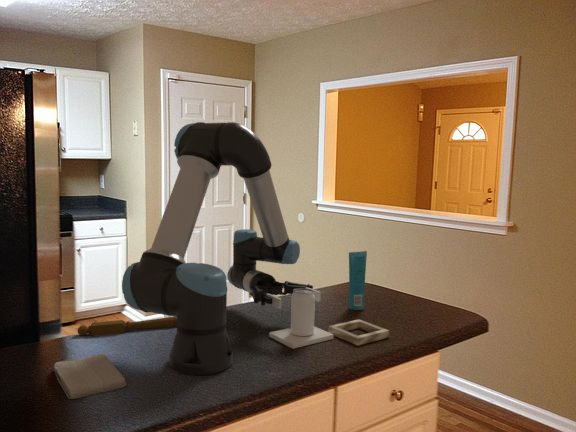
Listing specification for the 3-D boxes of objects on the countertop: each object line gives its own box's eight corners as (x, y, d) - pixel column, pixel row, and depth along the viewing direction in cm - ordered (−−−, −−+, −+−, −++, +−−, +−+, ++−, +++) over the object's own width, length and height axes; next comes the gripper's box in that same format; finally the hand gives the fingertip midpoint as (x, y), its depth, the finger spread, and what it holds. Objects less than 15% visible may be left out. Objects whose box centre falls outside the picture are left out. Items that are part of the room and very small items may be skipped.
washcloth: (103, 361, 125) (103, 349, 125) (128, 389, 111) (128, 375, 111) (50, 372, 118) (50, 359, 118) (70, 403, 104) (69, 388, 104)
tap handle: (188, 316, 151) (77, 327, 140) (188, 327, 152) (77, 338, 140) (186, 314, 154) (77, 324, 142) (186, 324, 154) (77, 334, 143)
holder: (357, 345, 139) (357, 338, 138) (328, 332, 148) (328, 326, 148) (388, 337, 146) (389, 330, 145) (358, 325, 155) (359, 319, 155)
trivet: (292, 348, 135) (292, 344, 135) (269, 336, 144) (269, 332, 144) (333, 338, 143) (333, 334, 143) (308, 327, 152) (308, 323, 152)
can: (312, 338, 140) (313, 294, 139) (288, 335, 141) (289, 292, 140) (315, 330, 146) (316, 288, 145) (292, 328, 148) (293, 287, 146)
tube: (358, 304, 178) (361, 249, 176) (369, 308, 174) (371, 251, 172) (342, 308, 173) (344, 251, 171) (353, 311, 169) (355, 253, 167)
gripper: (292, 290, 169) (334, 306, 151) (224, 301, 154) (262, 320, 137) (293, 268, 168) (335, 281, 151) (224, 276, 154) (262, 293, 136)
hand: (300, 300), depth 144 cm, fingers open, 13 cm apart
